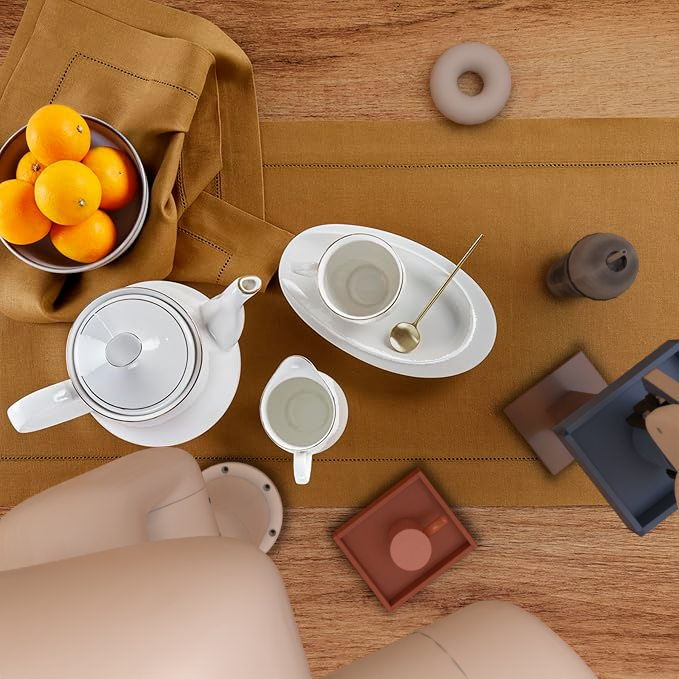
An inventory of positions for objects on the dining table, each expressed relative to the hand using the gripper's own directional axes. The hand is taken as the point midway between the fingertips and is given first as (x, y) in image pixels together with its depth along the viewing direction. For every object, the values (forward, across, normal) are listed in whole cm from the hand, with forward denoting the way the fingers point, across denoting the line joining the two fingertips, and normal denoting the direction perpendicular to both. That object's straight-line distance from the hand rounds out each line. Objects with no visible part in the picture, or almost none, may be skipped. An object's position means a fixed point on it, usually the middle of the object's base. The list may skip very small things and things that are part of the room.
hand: (661, 437), depth 56 cm
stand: (+24, 0, 0) cm, 24 cm away
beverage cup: (+24, -13, +10) cm, 29 cm away
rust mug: (+24, 0, -23) cm, 33 cm away
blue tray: (+2, 0, 0) cm, 2 cm away
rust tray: (+24, 0, -25) cm, 35 cm away
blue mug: (0, 0, +2) cm, 2 cm away
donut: (+24, -39, +15) cm, 48 cm away
